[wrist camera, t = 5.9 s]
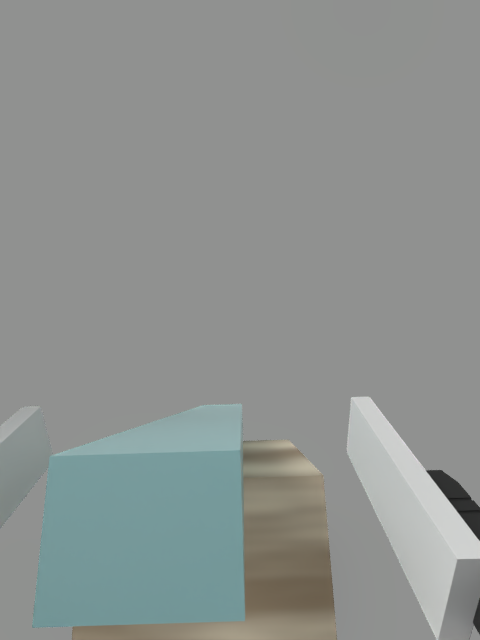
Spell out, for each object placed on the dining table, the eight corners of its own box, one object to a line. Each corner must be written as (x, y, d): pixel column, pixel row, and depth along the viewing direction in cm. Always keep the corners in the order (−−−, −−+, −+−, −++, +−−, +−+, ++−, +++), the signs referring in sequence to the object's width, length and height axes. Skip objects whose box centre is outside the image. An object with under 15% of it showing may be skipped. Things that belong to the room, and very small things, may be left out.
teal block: (245, 621, 6) (240, 450, 6) (32, 627, 6) (49, 456, 7) (242, 434, 31) (241, 403, 32) (203, 436, 31) (202, 405, 32)
